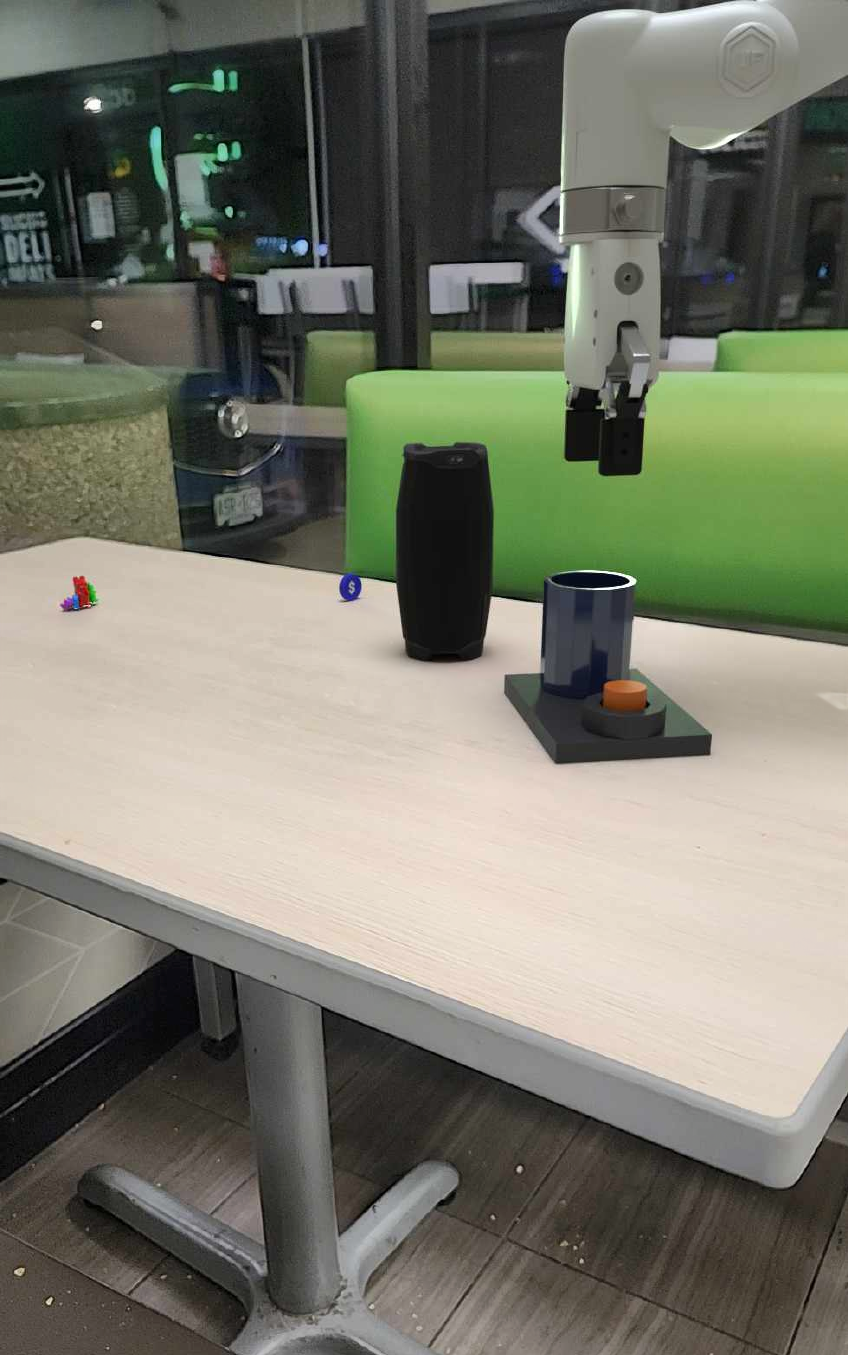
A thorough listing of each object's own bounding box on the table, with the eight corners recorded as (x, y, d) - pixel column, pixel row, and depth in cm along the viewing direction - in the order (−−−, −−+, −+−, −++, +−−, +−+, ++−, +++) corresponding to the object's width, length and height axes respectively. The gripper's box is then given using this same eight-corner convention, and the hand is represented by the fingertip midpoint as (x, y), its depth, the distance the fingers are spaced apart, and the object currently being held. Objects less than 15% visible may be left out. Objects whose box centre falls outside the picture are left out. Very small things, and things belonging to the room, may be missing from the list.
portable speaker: (380, 652, 114) (376, 445, 106) (451, 636, 119) (452, 438, 111) (437, 670, 108) (437, 452, 100) (509, 653, 113) (514, 445, 105)
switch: (637, 700, 89) (639, 679, 88) (651, 713, 86) (653, 691, 85) (597, 702, 88) (599, 681, 88) (609, 715, 85) (611, 693, 85)
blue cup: (613, 672, 101) (620, 569, 97) (640, 697, 94) (648, 587, 91) (531, 675, 100) (535, 572, 96) (552, 701, 93) (557, 591, 90)
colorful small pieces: (65, 613, 129) (61, 581, 128) (55, 608, 131) (51, 578, 130) (106, 606, 132) (102, 575, 131) (95, 602, 134) (92, 572, 133)
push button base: (635, 686, 103) (637, 648, 101) (710, 756, 86) (715, 711, 85) (504, 693, 101) (504, 654, 100) (555, 764, 85) (557, 720, 83)
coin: (343, 602, 134) (343, 576, 133) (339, 601, 134) (338, 575, 133) (362, 598, 136) (361, 572, 135) (357, 597, 136) (357, 571, 135)
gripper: (705, 210, 76) (685, 479, 83) (625, 229, 91) (614, 454, 98) (595, 211, 75) (584, 483, 82) (533, 230, 90) (528, 457, 97)
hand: (600, 467), depth 90 cm, fingers open, 9 cm apart
